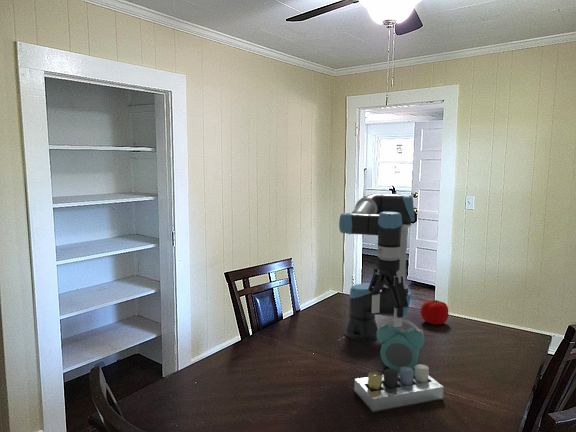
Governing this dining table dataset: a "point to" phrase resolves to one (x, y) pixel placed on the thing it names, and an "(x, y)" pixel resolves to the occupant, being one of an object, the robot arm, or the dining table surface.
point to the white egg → (421, 373)
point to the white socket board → (398, 394)
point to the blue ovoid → (406, 376)
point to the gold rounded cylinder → (374, 381)
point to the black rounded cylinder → (390, 378)
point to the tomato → (434, 312)
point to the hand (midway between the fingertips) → (386, 319)
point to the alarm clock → (400, 345)
